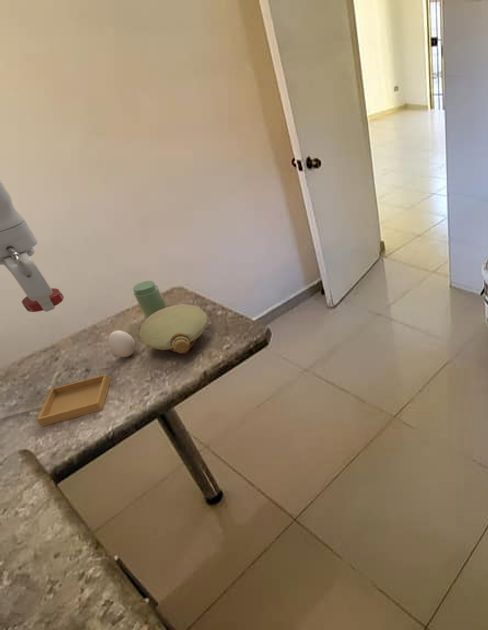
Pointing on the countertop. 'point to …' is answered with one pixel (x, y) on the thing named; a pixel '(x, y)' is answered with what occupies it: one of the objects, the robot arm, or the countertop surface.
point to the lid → (35, 306)
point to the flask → (174, 328)
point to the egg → (121, 343)
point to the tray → (74, 400)
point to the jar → (149, 297)
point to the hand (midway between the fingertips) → (45, 303)
